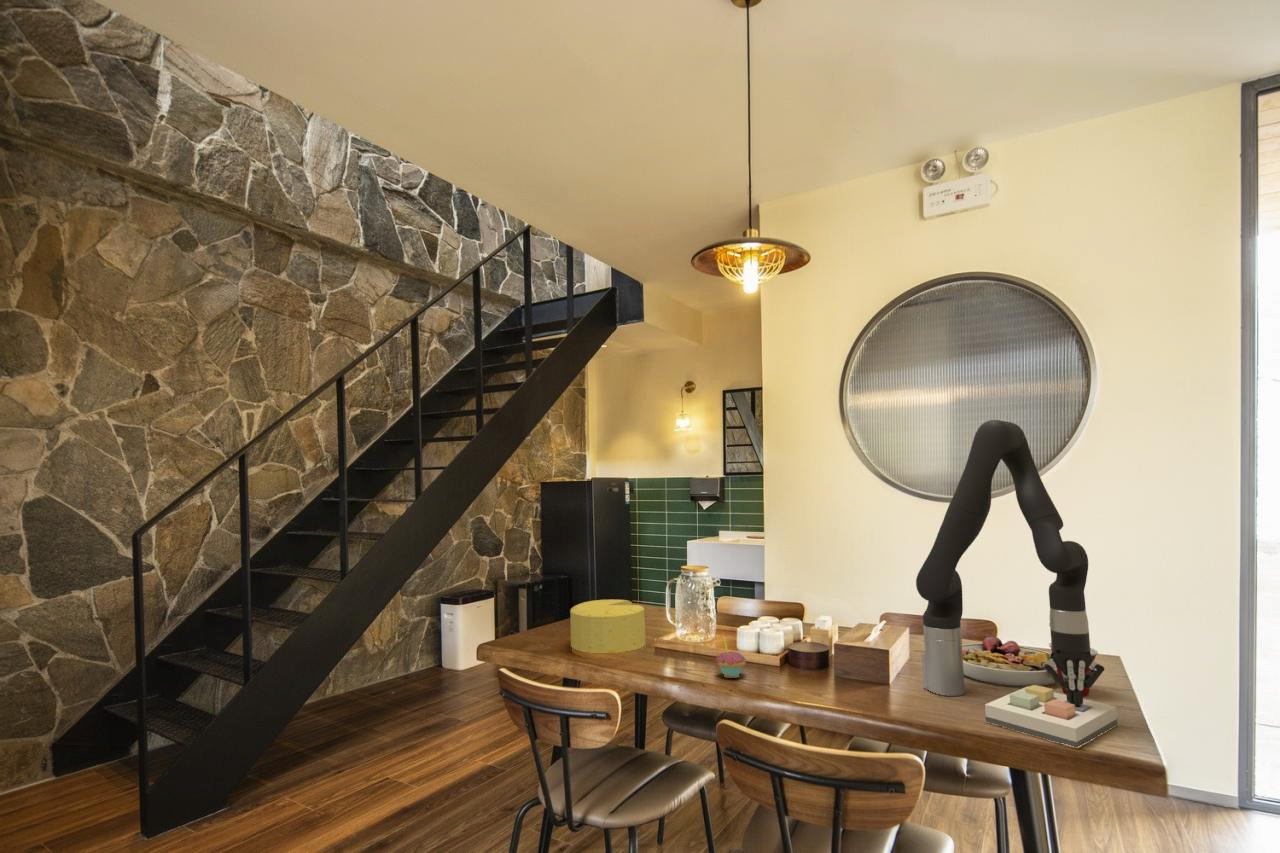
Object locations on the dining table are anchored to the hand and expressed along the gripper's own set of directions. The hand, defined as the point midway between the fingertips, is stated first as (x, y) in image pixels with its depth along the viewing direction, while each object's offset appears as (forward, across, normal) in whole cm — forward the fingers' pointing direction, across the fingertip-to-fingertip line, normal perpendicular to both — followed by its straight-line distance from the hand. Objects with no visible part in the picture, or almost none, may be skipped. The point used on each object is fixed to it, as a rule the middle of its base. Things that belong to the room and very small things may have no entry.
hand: (1075, 705), depth 150 cm
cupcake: (+4, -80, +30) cm, 85 cm away
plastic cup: (+5, +10, +23) cm, 26 cm away
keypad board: (+4, -5, 0) cm, 7 cm away
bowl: (+5, -1, +40) cm, 41 cm away
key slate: (+2, 0, 0) cm, 2 cm away
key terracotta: (+1, -5, -5) cm, 8 cm away
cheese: (+4, -123, +58) cm, 137 cm away
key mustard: (0, -5, +5) cm, 8 cm away
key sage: (0, -11, 0) cm, 11 cm away
